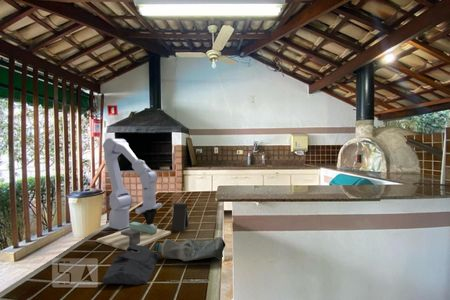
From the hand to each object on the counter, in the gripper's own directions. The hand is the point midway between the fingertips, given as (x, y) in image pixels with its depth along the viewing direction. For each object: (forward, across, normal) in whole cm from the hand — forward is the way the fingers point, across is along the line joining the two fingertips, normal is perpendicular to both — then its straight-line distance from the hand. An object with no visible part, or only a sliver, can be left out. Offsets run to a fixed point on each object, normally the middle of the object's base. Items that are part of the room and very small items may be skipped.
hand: (149, 225), depth 117 cm
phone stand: (+2, +10, -11) cm, 15 cm away
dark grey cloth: (+3, -30, -24) cm, 38 cm away
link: (+1, -5, -1) cm, 5 cm away
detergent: (+3, -14, -35) cm, 38 cm away
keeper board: (+2, -10, -2) cm, 11 cm away
